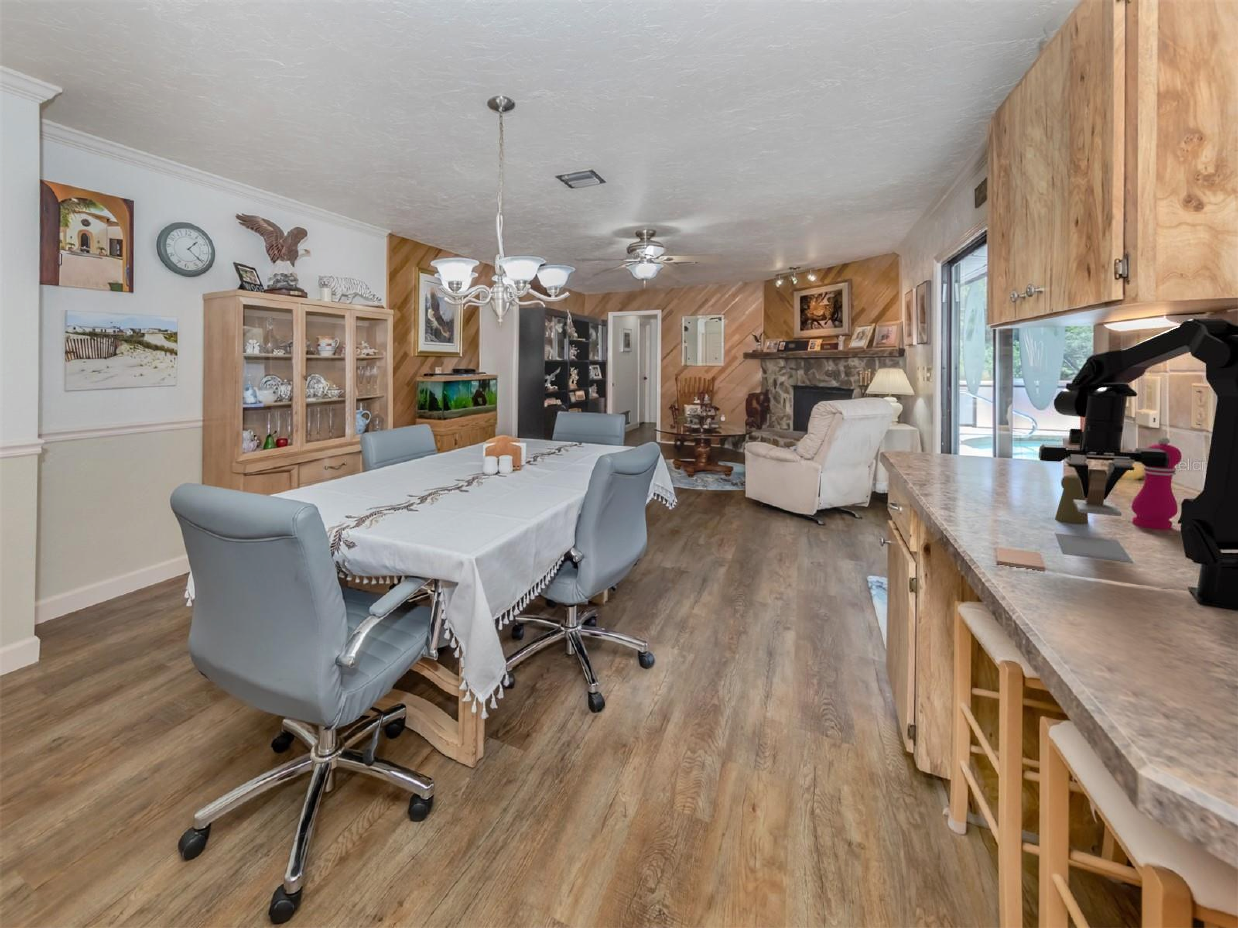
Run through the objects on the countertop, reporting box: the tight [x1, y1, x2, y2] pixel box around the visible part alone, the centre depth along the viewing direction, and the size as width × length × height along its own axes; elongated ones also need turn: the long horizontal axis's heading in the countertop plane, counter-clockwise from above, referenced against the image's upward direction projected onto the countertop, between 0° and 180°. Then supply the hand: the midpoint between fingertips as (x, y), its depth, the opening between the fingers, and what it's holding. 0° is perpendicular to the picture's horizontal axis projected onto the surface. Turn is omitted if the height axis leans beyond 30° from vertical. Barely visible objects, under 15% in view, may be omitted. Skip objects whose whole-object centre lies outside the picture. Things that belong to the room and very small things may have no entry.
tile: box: [995, 546, 1046, 573], centre depth 103 cm, size 1×7×9 cm
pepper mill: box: [1131, 436, 1182, 531], centre depth 119 cm, size 7×7×20 cm
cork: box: [1054, 474, 1089, 525], centre depth 125 cm, size 6×6×11 cm
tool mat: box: [1054, 532, 1134, 564], centre depth 108 cm, size 15×10×1 cm, turn 146°
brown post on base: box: [1073, 468, 1122, 517], centre depth 106 cm, size 9×6×7 cm, turn 146°
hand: (1094, 498), depth 109 cm, fingers closed on brown post on base, 2 cm apart
